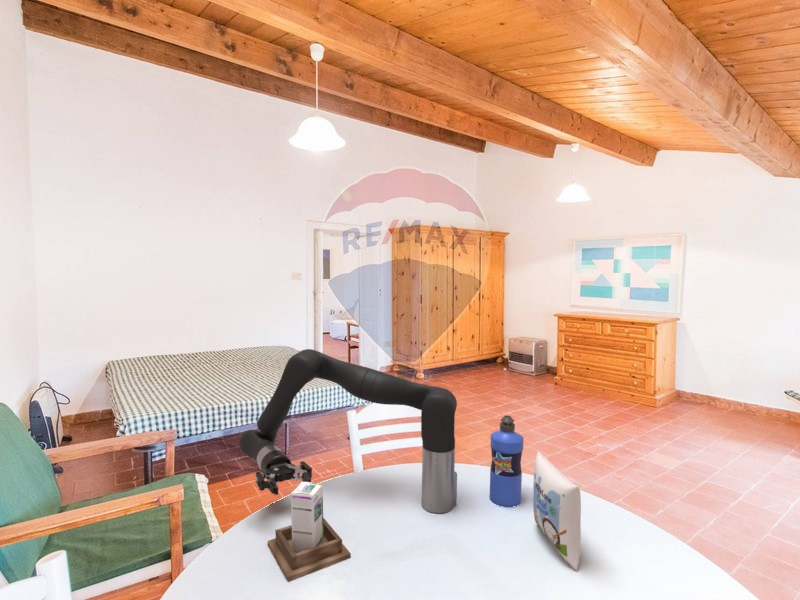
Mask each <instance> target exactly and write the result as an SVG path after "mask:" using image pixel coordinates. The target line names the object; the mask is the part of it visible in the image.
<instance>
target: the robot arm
mask: <svg viewBox="0 0 800 600" xmlns="http://www.w3.org/2000/svg"><path fill="white" fill-rule="evenodd" d="M314 379H321V380H326V381H328V382H332V383H334V384H337V385H338V386H340V387H341V388H342V389H343V390H345V391H346V392H348V393H349V394H350V395H351V396H353V397H355V398H357V399H360V400H363V401H367V402H370V403H374V404H378V405H392V406H395V405H396V406H405V407H406V406H407V407H410V408H415V409H417V410H418V411H421V414H420V415H421V416H420V419H421V421H420V428H421V429H420V430H421V431H420V432H421V433H420V434H421V435H420V436H421V441H422V443H421V444H422V450H421V451H422V454H421V455H422V457H421V460H422V461H421V506H422V509H424V510H425V511H427V512H430V513H434V514H443V513H444V514H445V513H449V512H450V511H452V510H453V509H454V507H456V506H457V500H458V499H457V495H458V494H457V493H458V492H457V489H458V488H457V486H458V472H456V471H455V463H456V462H455V461H456V460H455V459H456V457H455V455H456V438H455V422H456V421H455V418H456V417H455V415H456V414H455V413H456V410H457V406H458V405H457V404H458V402H457V398H456V396H455V395H454V394H453V392H451V391H450V390H449V389H447V388H443V387H440V386H434V385H429V384H421V383H418V382H414V381H411V380H407V379H405V378H402V377H399V376H396V375H392V374H388V373H386V372H383V371H380V370H376V369H374V368H369V367H367V366H363V365H359V364H355V363H352V362H347V361H344V360H340V359H337V358H335V357H332V356H330V355H327V354H325V353H323V352H320V351H318V350H316V349H313V348H312V349H309V348H308V349H303V350H301V351H299V352H297V353H295V354H293V355H292V356H291V357H290V358H289V359H288V360H287V362H286V365H285V367H284V369H283V372H282V375H281V378H280V379H279V382H278V384H277V387H276V389H275V390H274V392H273V394H272V397H271V398H270V400H269V402H268V403H267V405H266V406H265V407H264V410H263V411H262V413H261V415H260V416H259V417H258V418H257V419H258V420H257V423H256V426H257V429H258V430H256V429H247V430H245V431H244V432H243V433H242V434H241V435H240V438H239V442H238V443H239V448H240V451H241V452H242V453H243V454H244V455H245V456H247V457H248V458H250V459H253V460H254V461H255V462H256V463H257V466H258V468H259V469H260V470H261V471H256V472H255V484H256V486H257V488H258V489H259V491H265V489H267V490H268V491H269V492H270V493H271V494H272V495H273V494H274V496H277V495H279V486H278V485H277V484H278V483H282V482H284V481H289V480H290V481H293V482H294V481H295V482H298V481H301V482H312V478H313V471H312V470H313V468H312V467H311V466H310V465H309V464H307V463H306V462H305V461H300V462H299V463H300V464H298V465H295V464H293V463H292V462H291V459H290V458H289V457H288V456H287V455H286V454H285V453H284V451H283V450H282V449H281V448H280V447H278V446H277V445H276V444H275V442H276V438H277V434H278V432H279V429H280V427H282V425H283V423H284V421H285V419H286V418H287V416H288V414H289V412H290V409H291V407H292V403H293V401H294V399H295V398H296V396H297V395H298V393H299V392H300V391H301V390H302V389H303V388H304V387H305V386H306V384H308V383H310V382H311V381H313V380H314ZM261 472H262V473H261ZM265 479H266V480H265Z"/></svg>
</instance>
